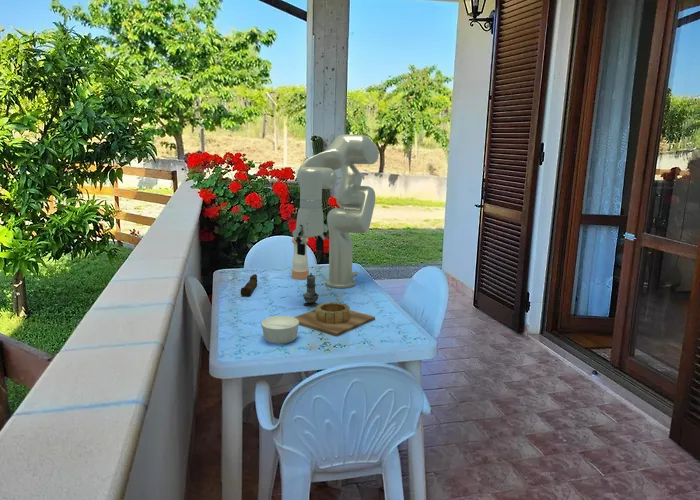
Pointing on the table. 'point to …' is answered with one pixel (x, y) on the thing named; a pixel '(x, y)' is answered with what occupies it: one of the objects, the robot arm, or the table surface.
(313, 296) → the stone chess piece
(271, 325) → the ramekin
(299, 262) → the pepper shaker
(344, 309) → the wooden ring
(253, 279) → the brown long rounded piece
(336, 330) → the wooden board
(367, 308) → the table surface
